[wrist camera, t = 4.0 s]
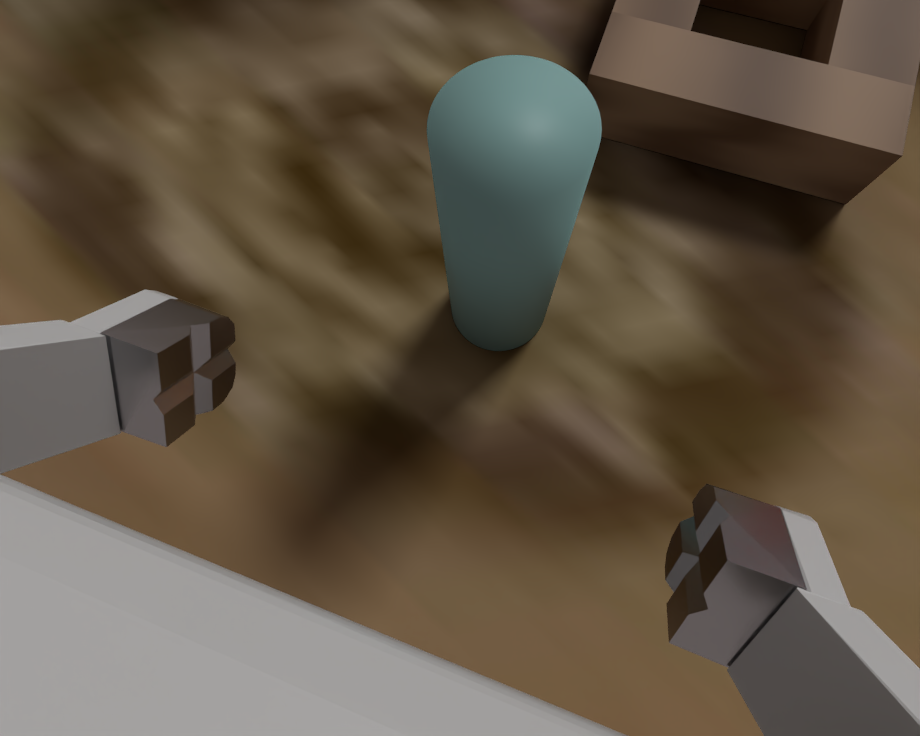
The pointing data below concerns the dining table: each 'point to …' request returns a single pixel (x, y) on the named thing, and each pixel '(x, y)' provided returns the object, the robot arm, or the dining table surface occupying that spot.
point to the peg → (509, 189)
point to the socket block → (764, 89)
